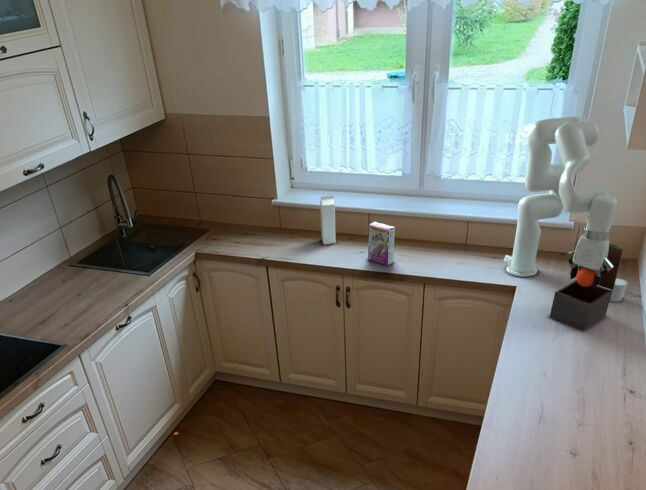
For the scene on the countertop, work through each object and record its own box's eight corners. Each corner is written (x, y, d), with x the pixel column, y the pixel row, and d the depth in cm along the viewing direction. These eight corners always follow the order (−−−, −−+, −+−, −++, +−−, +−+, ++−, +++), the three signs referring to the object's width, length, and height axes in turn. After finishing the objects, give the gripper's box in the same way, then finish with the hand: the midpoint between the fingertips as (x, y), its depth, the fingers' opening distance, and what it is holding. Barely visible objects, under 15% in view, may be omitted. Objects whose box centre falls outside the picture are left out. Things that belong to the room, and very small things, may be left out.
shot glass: (624, 302, 225) (629, 286, 221) (605, 301, 227) (610, 285, 222) (621, 294, 231) (626, 278, 226) (602, 293, 232) (606, 277, 228)
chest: (584, 330, 211) (591, 304, 205) (549, 317, 219) (555, 292, 213) (605, 316, 218) (612, 290, 212) (571, 303, 227) (577, 278, 220)
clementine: (567, 283, 212) (571, 264, 207) (581, 278, 214) (586, 260, 210) (584, 291, 206) (589, 273, 202) (599, 287, 208) (604, 268, 204)
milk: (321, 240, 288) (319, 194, 275) (333, 238, 288) (332, 193, 275) (323, 244, 283) (321, 198, 270) (336, 243, 284) (334, 197, 270)
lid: (622, 249, 201) (630, 244, 203) (584, 239, 210) (592, 233, 212) (612, 290, 211) (619, 284, 214) (576, 278, 220) (584, 272, 222)
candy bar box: (367, 260, 267) (367, 224, 257) (374, 256, 270) (374, 221, 260) (387, 266, 261) (388, 230, 251) (394, 262, 264) (395, 226, 254)
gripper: (566, 230, 202) (556, 277, 213) (615, 243, 191) (602, 293, 202) (578, 224, 206) (567, 271, 216) (627, 237, 195) (613, 285, 206)
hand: (584, 281), depth 209 cm, fingers closed on clementine, 8 cm apart
